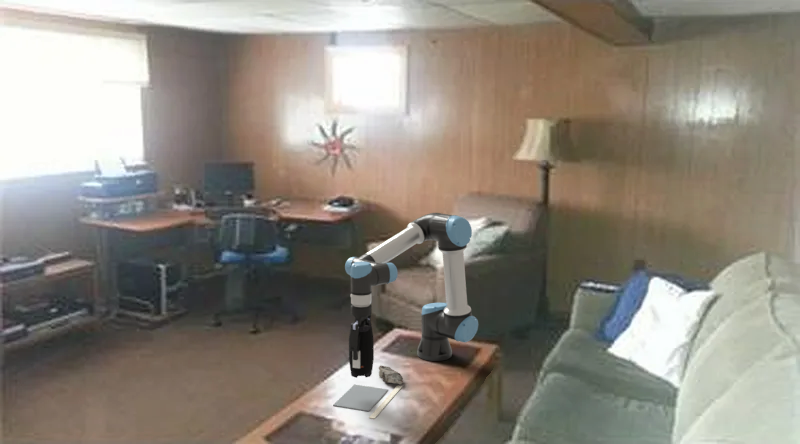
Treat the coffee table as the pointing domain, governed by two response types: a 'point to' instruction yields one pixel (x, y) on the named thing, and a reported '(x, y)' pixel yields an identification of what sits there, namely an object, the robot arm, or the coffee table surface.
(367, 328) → the portable speaker
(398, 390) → the strip
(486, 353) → the coffee table surface
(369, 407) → the mat
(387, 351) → the coffee table surface
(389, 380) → the mineral rock
